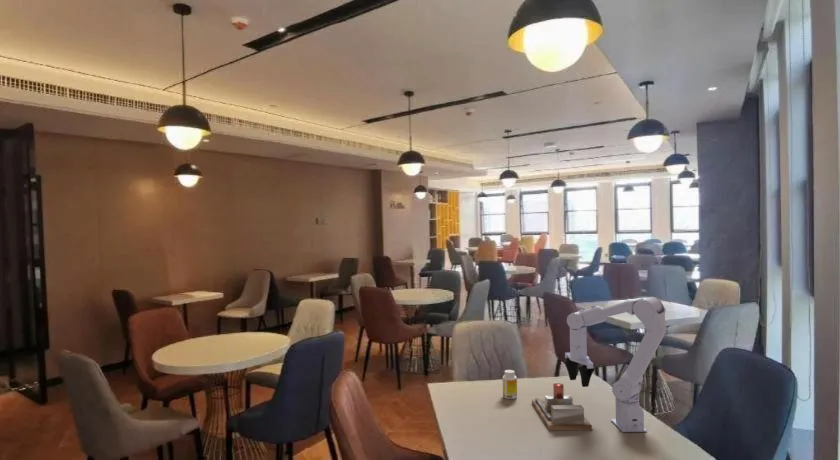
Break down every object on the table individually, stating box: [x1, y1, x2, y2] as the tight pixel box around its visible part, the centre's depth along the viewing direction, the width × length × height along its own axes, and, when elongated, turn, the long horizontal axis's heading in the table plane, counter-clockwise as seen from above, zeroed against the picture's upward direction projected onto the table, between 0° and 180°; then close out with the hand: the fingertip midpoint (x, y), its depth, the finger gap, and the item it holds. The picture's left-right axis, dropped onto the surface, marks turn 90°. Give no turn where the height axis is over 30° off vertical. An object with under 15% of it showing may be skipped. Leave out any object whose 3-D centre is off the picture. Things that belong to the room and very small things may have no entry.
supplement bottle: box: [502, 369, 518, 400], centre depth 185 cm, size 6×6×10 cm
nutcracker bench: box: [531, 397, 593, 431], centre depth 166 cm, size 24×14×6 cm, turn 0°
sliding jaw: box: [544, 382, 574, 411], centre depth 167 cm, size 4×9×9 cm, turn 90°
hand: (579, 383), depth 169 cm, fingers open, 7 cm apart
